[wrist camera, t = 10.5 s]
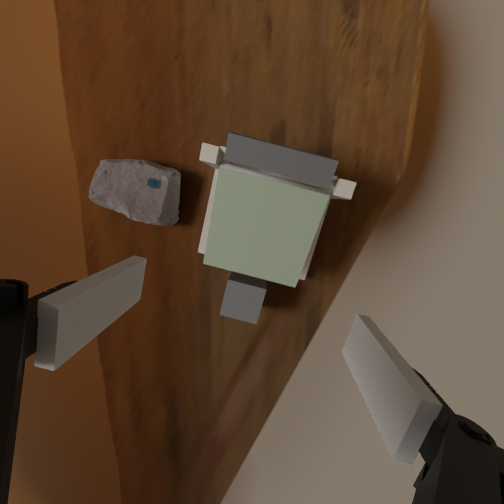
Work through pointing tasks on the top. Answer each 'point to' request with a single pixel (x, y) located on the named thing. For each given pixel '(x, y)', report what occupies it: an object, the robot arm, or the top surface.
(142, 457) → the top surface
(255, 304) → the basalt block
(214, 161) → the stand
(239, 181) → the trapdoor
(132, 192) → the stone
